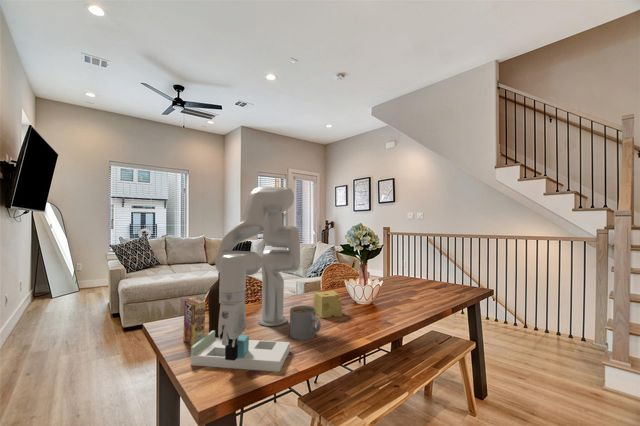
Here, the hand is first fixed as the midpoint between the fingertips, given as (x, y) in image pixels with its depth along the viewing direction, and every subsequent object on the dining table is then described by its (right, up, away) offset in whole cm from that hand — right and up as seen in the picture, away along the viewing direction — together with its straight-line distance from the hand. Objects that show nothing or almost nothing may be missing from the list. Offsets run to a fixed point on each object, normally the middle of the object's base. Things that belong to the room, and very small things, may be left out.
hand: (231, 358), depth 88 cm
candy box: (-20, -4, +21) cm, 29 cm away
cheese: (+30, -6, +55) cm, 63 cm away
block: (+1, -1, +5) cm, 5 cm away
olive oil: (-13, -5, +30) cm, 33 cm away
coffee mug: (+20, -5, +28) cm, 35 cm away
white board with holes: (+1, -4, +9) cm, 10 cm away
